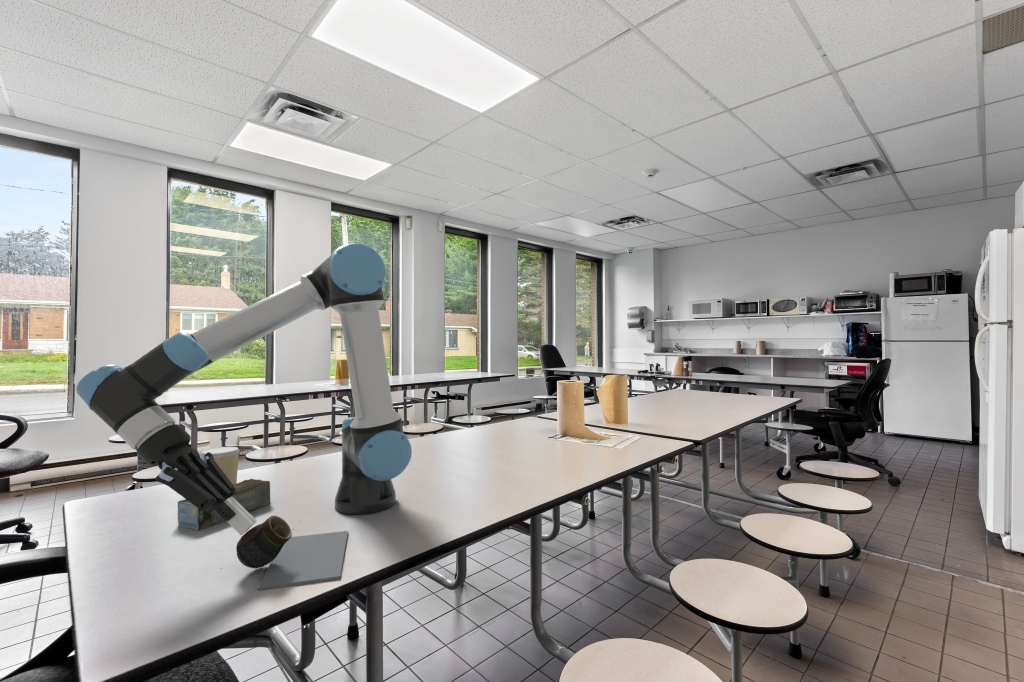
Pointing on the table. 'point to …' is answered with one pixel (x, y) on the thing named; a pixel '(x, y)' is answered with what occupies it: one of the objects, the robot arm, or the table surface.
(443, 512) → the table surface
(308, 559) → the mat
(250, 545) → the mate gourd
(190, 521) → the beverage carton
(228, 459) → the coffee cup
